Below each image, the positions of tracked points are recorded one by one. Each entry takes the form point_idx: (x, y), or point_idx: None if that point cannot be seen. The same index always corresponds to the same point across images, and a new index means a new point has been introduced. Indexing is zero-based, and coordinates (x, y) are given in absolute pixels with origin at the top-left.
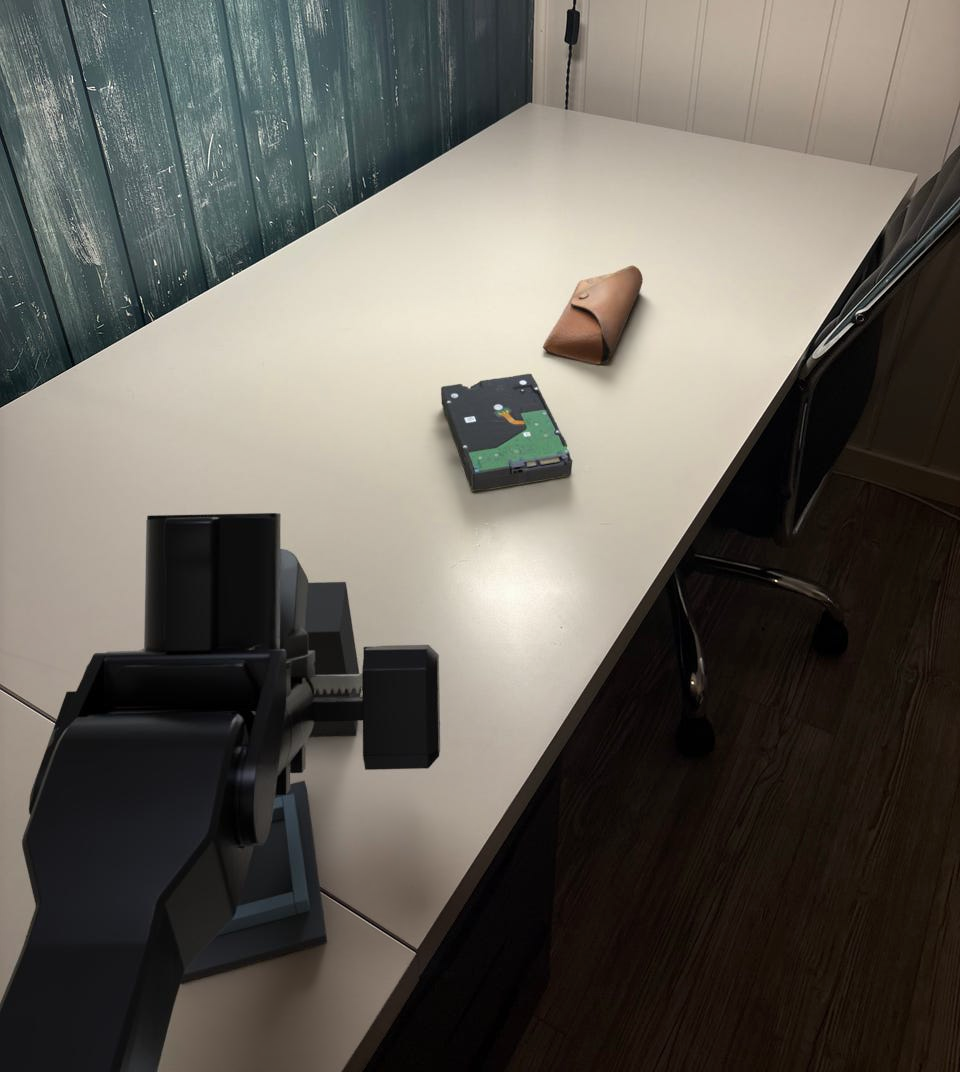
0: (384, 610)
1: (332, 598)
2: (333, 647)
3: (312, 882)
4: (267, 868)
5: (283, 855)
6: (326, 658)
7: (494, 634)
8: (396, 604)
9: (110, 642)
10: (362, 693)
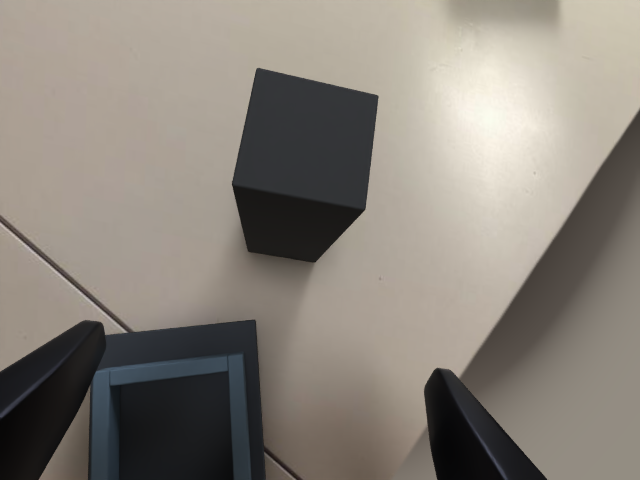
0: None
1: (353, 128)
2: (338, 220)
3: (256, 456)
4: (204, 432)
5: (224, 416)
6: (318, 225)
7: (468, 166)
8: None
9: (21, 71)
10: (450, 458)
